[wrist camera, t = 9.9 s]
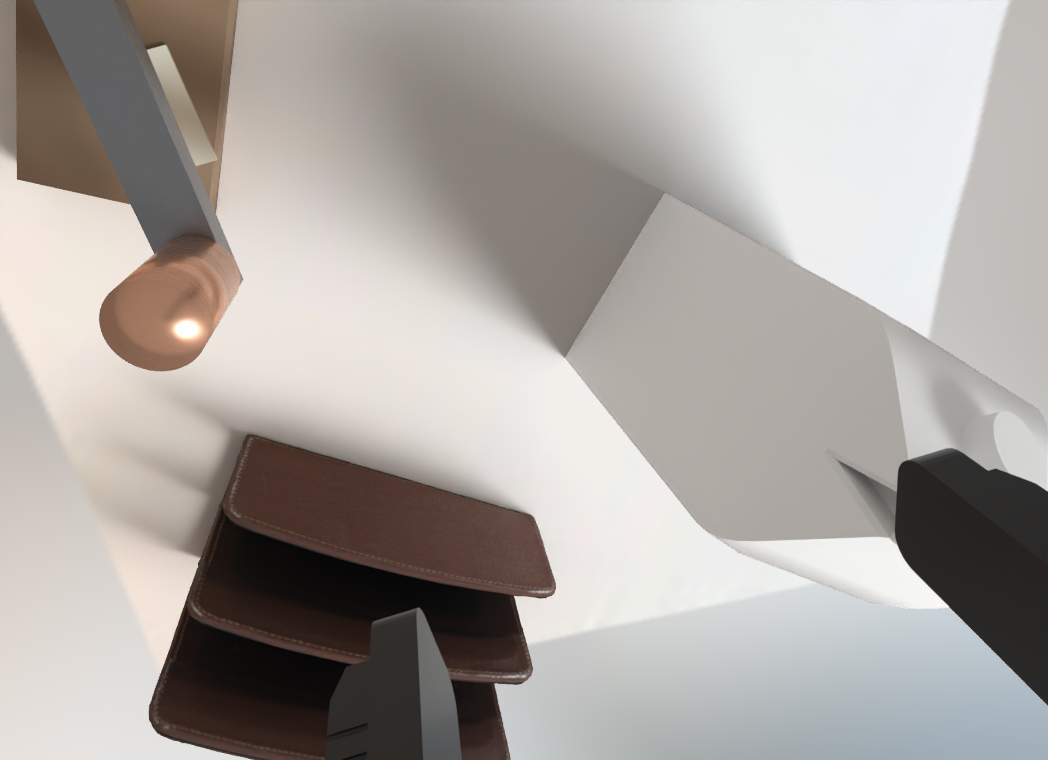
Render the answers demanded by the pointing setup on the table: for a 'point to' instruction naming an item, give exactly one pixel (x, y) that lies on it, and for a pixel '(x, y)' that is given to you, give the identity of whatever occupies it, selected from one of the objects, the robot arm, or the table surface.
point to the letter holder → (341, 602)
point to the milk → (787, 403)
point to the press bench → (182, 68)
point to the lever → (147, 190)
